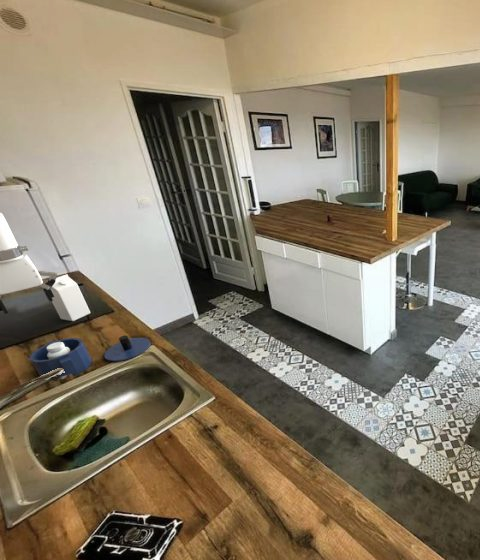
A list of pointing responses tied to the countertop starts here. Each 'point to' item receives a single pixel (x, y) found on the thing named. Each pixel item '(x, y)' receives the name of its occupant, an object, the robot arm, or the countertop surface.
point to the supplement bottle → (57, 350)
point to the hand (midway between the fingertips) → (29, 305)
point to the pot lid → (127, 348)
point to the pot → (62, 358)
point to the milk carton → (68, 299)
